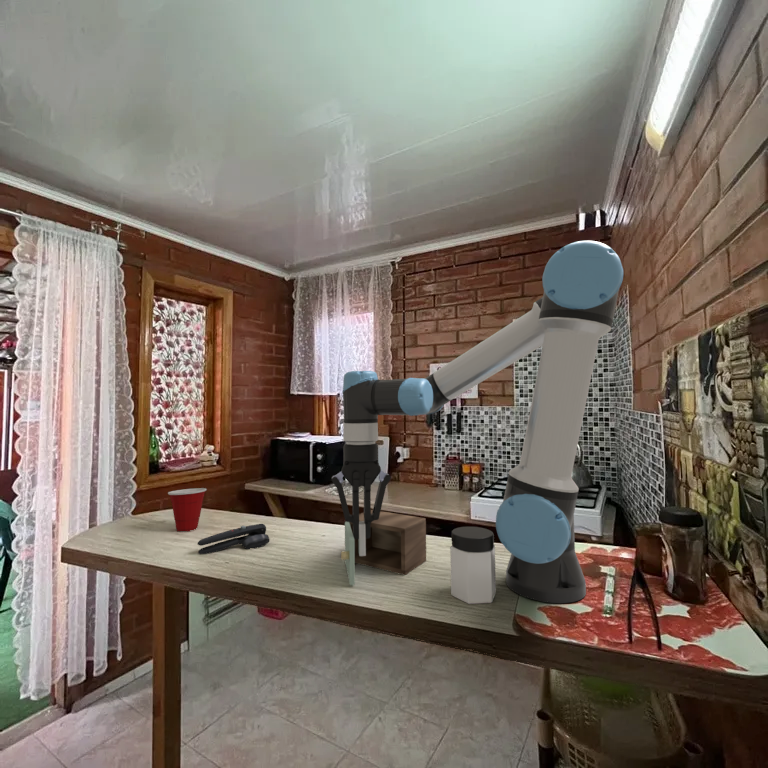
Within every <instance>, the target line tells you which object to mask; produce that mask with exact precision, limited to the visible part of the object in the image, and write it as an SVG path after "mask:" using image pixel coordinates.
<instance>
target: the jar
mask: <svg viewBox="0 0 768 768" xmlns="http://www.w3.org/2000/svg"><path fill="white" fill-rule="evenodd" d="M494 536H495V535H494V532H493V531H492V530H490V529H487V528H484V527H480V526H460V527H456V528H454V529H453V530H451V539H450V540H451V546H450V552H449V553H450V593H451V595H450V596H453V597H454V598H456V599H458V600H460V601H462V602H463V603H466V604H468V605H472V604H473V605H476V604H490V603H493V600H494V598H495V595H496V594H497V592H496V591H497V588H496V587H497V586H496V585H497V581H496V579H497V578H496V576H497V575H496V546H495V540H494V539H495V537H494Z"/></svg>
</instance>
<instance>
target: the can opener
mask: <svg viewBox="0 0 768 768" xmlns="http://www.w3.org/2000/svg"><path fill="white" fill-rule="evenodd" d="M266 532H267V525H266V524H265V523H257V524H250V525H241V526H240V527H238V528H233V529H230V530H226V531H225V530H224V531H223V532H219V533H216V534H213V535H209V536H207V537H205V538H202V539H200V540H198V542H197V545H198V546H199V547H202V548H200V549H199V550H198V552H197V553H198V554H199V555H206V554H213V553H215V552H216V551H217V552H220V551H222V550H225V549H229V548H231V547H234V546H238V545H241V546H242V547H244V548H245V550H251V549H250V548H254V549H258V548H261V547H264V546H265V545H267V544H268V543H269V542H270V537H269V535H268V534H266ZM206 545H207V546H206ZM204 546H205V547H204ZM257 547H258V548H257ZM212 552H213V553H212Z"/></svg>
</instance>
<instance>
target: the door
mask: <svg viewBox="0 0 768 768" xmlns="http://www.w3.org/2000/svg"><path fill="white" fill-rule="evenodd" d="M340 557H341V559H340V560H341V561H344V563H345V568H346V572H347V573H346V574H347V577H348V583H349V586H355V585H356V583H355V582H356V578H355V575H356V572H355V570H356V569H355V568H356V565H355V564H356V563H355V540H354V537H353V533H352V530H351V527H350V523H349V522H347V521H344V551H341V552H340Z"/></svg>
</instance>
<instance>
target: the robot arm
mask: <svg viewBox="0 0 768 768" xmlns="http://www.w3.org/2000/svg"><path fill="white" fill-rule="evenodd" d="M541 280H542V287H543V296H542V297H540V298H539V299H538V300H536V301H535V302H533V306H532V308H531V310H529V311H528V312H526V313H524V314H523V315H521V316H520V317H518V318H517V319H515V320H514V321H512V322H511V323H508V324H507V325H506V326H504V327H502V328H501V329H499V330H498V331H497V332H495V333H494V334H492V335H490V336H488V337H487V338H486V339H484V340H482V341H480V343H477V344H476V345H475V346H473V347H472V348H470V349H468V350H467V351H466V352H464V353H462V354H460V355H459V356H457V357H456V358H454V359H453V360H451V361H450V362H448V363H447V364H444V365H443V366H442V367H440V368H438V369H437V370H436V371H434V372H433V373H431V374H430V375H428V376H426V377H425V378H423V377H422V378H421V377H420V378H418V377H417V378H416V377H408V378H397V379H396V378H395V379H394V378H393V379H379V378H378V373H377V372H375V371H373V370H352V371H348V372H346V373H345V374H344V375H343V382H342V383H343V384H342V400H343V401H342V402H343V403H342V404H343V405H342V406H343V423H342V424H343V425H342V426H343V433H342V434H343V436H342V439H343V442H345V443H344V445H343V447H342V449H343V464H342V466H341V471H339V472H338V473H337V474H334V475H332V476H331V481H332V483H333V484H334V486H335V488H336V490H337V493H338V497H339V502H340V505H341V509H342V512H343V517H344V520H345V522H351V523H353V537H354V539H358V552H359V556H366V538H370V536H371V527H370V525H371V522H372V521H374V520H378V519H379V515H380V511H382V507H383V501H384V499H385V498H384V497H385V493H386V488H387V486H388V484H389V482H390V480H391V479H392V477H391V475H390V474H389V473H387V472H384V471H383V470H382V469H381V466H380V463H379V444H378V443H376V442H377V441H378V440H379V429H378V428H379V424H378V421H379V416H385V415H386V416H387V415H388V416H411V417H413V416H419V415H420V416H423V415H432V414H434V413H437V412H439V411H441V410H442V408H444V406H445V405H446V404H448V403H449V402H450V401H452V400H454V399H455V398H457V397H459V396H461V395H462V394H464V393H465V392H467V391H469V390H471V389H472V388H473V387H476V386H477V385H479V384H481V383H482V382H484V381H486V380H487V379H488V378H491V377H492V376H494V375H496V374H497V373H499V372H500V371H502V370H504V369H507V368H508V367H509V366H510V365H512V364H515V363H516V362H517V361H519V360H522V359H523V358H524V357H526V356H528V355H530V354H531V353H532V352H534V351H536V350H538V349H539V348H541V347H542V348H541V352H540V357H539V363H538V369H537V374H536V379H535V383H534V384H535V385H534V388H533V392H532V393H533V394H532V399H531V405H530V410H529V415H528V419H527V423H526V425H527V426H526V431H525V434H524V440H523V445H522V451H521V455H520V460H519V463H518V465H516V466H514V467H513V468H511V469H510V470H509V471H508V475H507V480H506V486H505V490H504V495H503V501H502V502H501V504H500V505H499V507H498V509H497V511H496V516H495V529H496V533H497V537H498V539H499V541H500V542H501V544H502V546H503V547H504V548H505V549H506V550H507V551H508V552H509V553H510V557H509V559H508V563H507V566H506V571H505V577H506V578H505V579H506V580H505V581H506V585H507V587H508V588H509V589H510V590H511V591H513V592H514V593H516V594H518V595H519V596H521V597H523V598H527V599H530V600H533V601H538V602H543V603H549V604H550V603H551V604H568V603H574V602H578V601H580V600H582V599H584V598H585V597H586V594H587V585H586V578H585V576H584V574H583V569H582V566H581V564H580V561H579V559H578V556H577V554H576V546H575V544H576V543H575V541H576V539H575V509H576V504H577V500H578V495H579V490H580V488H579V486H578V485H577V484H576V482H575V481H574V480H573V478H572V475H573V470H574V466H575V465H574V464H575V460H576V454H577V450H578V444H579V440H580V433H581V429H582V425H583V420H584V419H583V418H584V416H585V415H584V414H585V410H586V404H587V400H588V395H589V390H590V383H591V379H592V374H593V370H594V365H595V358H596V355H597V349H598V345H599V339H601V338H603V336H605V335H607V333H609V332H611V330H612V326H613V321H614V318H615V317H614V316H615V311H616V307H617V301H618V295H619V292H620V288H621V286H622V283H623V280H624V268H623V265H622V261H621V259H620V257H619V255H618V254H617V253H616V251H614V250H613V248H612V247H611V246H609V245H607V244H605V243H602V242H600V241H595V240H579V241H574V242H571V243H569V244H566V245H565V246H563V247H561V248H560V249H559V250H557V251H556V252H555V253H554V254H553V255H551V257H550V258H549V259H548V262H547V263H546V265H545V266H544V271H543V274H542V279H541ZM343 477H344V478H345V480H346V481H347V482H348V483H349V485H350V486H351V491H352V492H351V493H352V495H351V496H352V497H351V498H352V499H351V500H352V505H351V506H352V514H351V513H350V511H349V506H348V502H347V499H346V495H345V490H344V486H343V485H342V484H343V483H344V479H343ZM377 477H378V481H379V483H378V488H377V491H376V496H375V500H374V505H373V507H371V505H372V504H371V503H372V502H371V500H372V499H371V495H372V494H371V491H372V486H371V485H373V483H374V482H375V480H376V479H377ZM360 487H363V513H364V521H359V514H360ZM371 508H373V509H371ZM371 510H373V512H372V514H371Z"/></svg>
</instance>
